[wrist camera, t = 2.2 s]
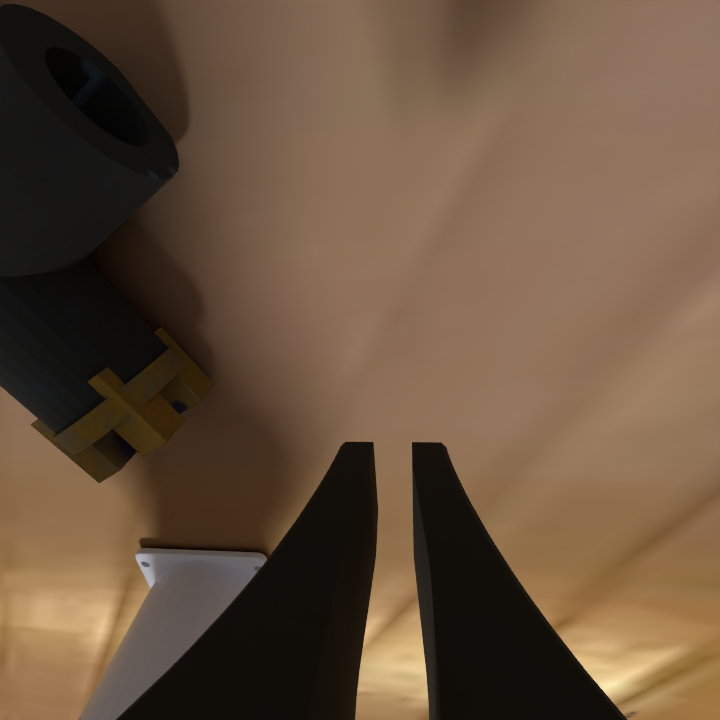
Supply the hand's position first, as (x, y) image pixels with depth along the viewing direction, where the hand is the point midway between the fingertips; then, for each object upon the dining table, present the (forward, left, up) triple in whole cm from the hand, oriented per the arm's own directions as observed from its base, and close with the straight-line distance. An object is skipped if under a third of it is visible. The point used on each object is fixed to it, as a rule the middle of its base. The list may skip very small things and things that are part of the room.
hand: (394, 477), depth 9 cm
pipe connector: (+1, +13, -9) cm, 16 cm away
